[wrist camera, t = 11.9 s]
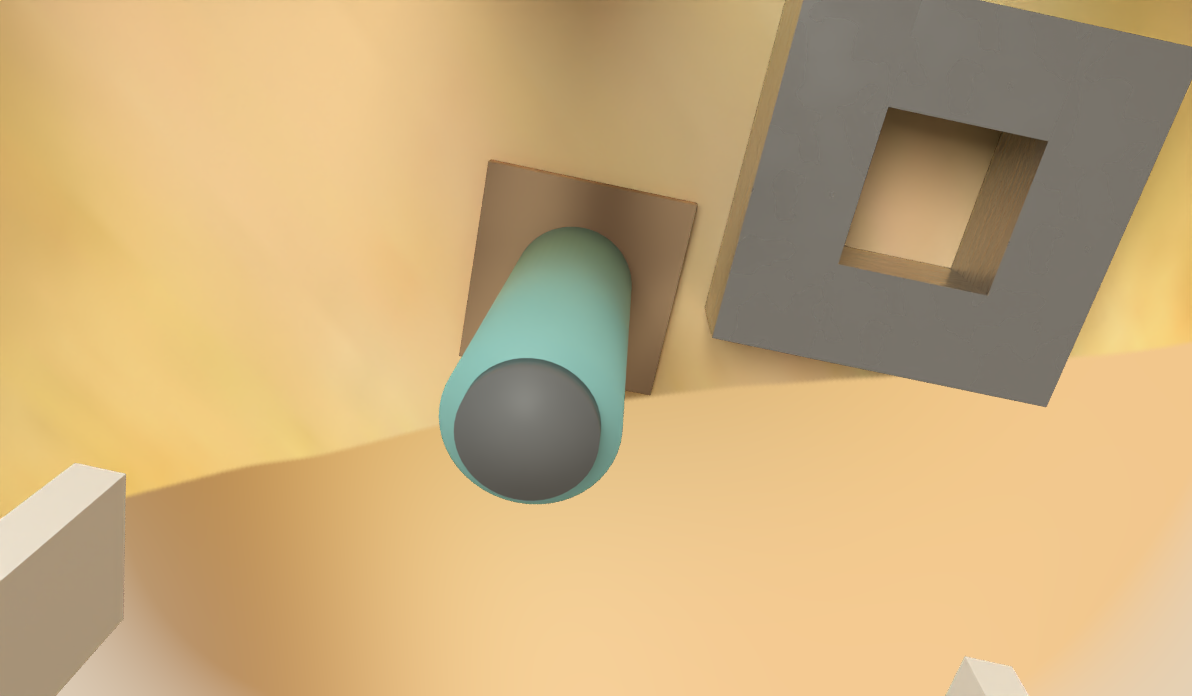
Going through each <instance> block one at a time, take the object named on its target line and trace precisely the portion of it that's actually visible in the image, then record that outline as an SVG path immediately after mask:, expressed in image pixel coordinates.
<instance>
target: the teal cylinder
mask: <svg viewBox="0 0 1192 696" xmlns="http://www.w3.org/2000/svg"><path fill="white" fill-rule="evenodd" d="M631 290H632V281H631V274H630V270H629V267H628V264H627V262H626V260H625V258H624V256H623V254H622V253H621V252H620V250H619V249H618V248H617V247H616V246H615V245H614V244H613V243H612V242H611V241H610V240H609V239H607V238H606V237H605V236H603V235H601V234H599V233H597V232H595V231H593V230H589V229H586V228H581V227H562V228H557V229H553V230H551V231H548V232H546V233H544V234H542V235H540V236H539V237H537V238H536V239H535V240H533V241H532V242H531V243H530V244H529V245H528V246H527V248H526V249H525V250H524V252H523V253H522V255H521V257H520V258H519V260H518V262H517V264H516V265H515V267H514V269H513V270H512V272H511V274H510V275H509V277H508V279H507V281H506V282H505V284H504V286H503V287H502V289H501V291H500V293H499V294H498V296H497V298H496V299H495V301H494V303H493V304H492V306H491V308H490V310H489V311H488V313H487V315H486V316H485V318H484V320H483V322H482V323H481V325H480V327H479V328H478V330H477V332H476V334H475V335H474V337H473V339H472V340H471V342H470V344H469V345H468V347H467V349H466V351H465V352H464V354H463V356H462V357H461V359H460V361H459V363H458V364H457V366H456V368H455V369H454V371H453V373H452V374H451V376H450V378H449V380H448V382H447V383H446V385H445V388H444V391H443V393H442V397H441V402H440V408H439V424H440V430H441V435H442V439H443V442H444V444H445V447H446V449H447V451H448V453H449V455H450V457H451V459H452V460H453V462H454V463H455V464H456V466H457V467H458V468H459V469H460V471H461V472H462V473H463V474H464V475H465V476H466V477H467V478H469V479H470V480H471V481H472V482H473V483H474V484H476V485H477V486H479V487H480V488H482V489H483V490H485V491H487V492H489V493H491V494H493V495H495V496H497V497H500V498H503V499H505V500H510V501H513V502H518V503H525V504H547V503H554V502H559V501H563V500H566V499H569V498H571V497H574V496H576V495H578V494H580V493H582V492H584V491H585V490H587V489H588V488H590V487H591V486H593V485H594V484H595V483H596V482H597V481H598V480H600V478H601V477H602V476H603V475H604V474H605V473H606V472H607V470H608V469H609V467H610V466H611V464H612V463H613V461H614V459H615V457H616V455H617V453H618V449H619V446H620V443H621V437H622V429H623V414H624V398H625V383H626V367H627V352H628V336H629V321H630V305H631Z"/></svg>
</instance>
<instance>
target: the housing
mask: <svg viewBox="0 0 1192 696" xmlns="http://www.w3.org/2000/svg"><path fill="white" fill-rule="evenodd" d="M1191 80H1192V47H1190V46H1186V45H1181V44H1176V43H1172V42H1167V41H1163V40H1158V39H1154V38H1149V37H1144V36H1140V35H1135V34H1131V33H1126V32H1122V31H1117V30H1113V29H1108V28H1103V27H1099V26H1094V25H1090V24H1085V23H1081V22H1076V21H1072V20H1067V19H1062V18H1058V17H1053V16H1049V15H1044V14H1040V13H1035V12H1030V11H1026V10H1021V9H1017V8H1012V7H1008V6H1003V5H999V4H994V3H989V2H985V1H980V0H785V4H784V8H783V12H782V16H781V19H780V23H779V27H778V31H777V35H776V39H775V42H774V46H773V50H772V54H771V58H770V61H769V65H768V69H767V73H766V77H765V80H764V84H763V88H762V92H761V96H760V99H759V103H758V107H757V111H756V115H755V118H754V122H753V126H752V130H751V134H750V137H749V141H748V145H747V149H746V153H745V156H744V160H743V164H742V168H741V172H740V175H739V179H738V183H737V187H736V191H735V194H734V198H733V202H732V206H731V210H730V213H729V217H728V221H727V225H726V229H725V232H724V236H723V240H722V244H721V248H720V251H719V255H718V259H717V263H716V267H715V271H714V274H713V278H712V282H711V286H710V290H709V293H708V297H707V301H706V305H705V310H706V315H707V319H708V323H709V327H710V331H711V335H712V338H715V339H720V340H725V341H730V342H735V343H739V344H744V345H749V346H754V347H759V348H764V349H768V350H773V351H778V352H783V353H788V354H792V355H797V356H802V357H807V358H812V359H817V360H821V361H826V362H831V363H836V364H841V365H845V366H850V367H855V368H860V369H865V370H870V371H874V372H879V373H884V374H889V375H894V376H898V377H903V378H908V379H913V380H918V381H923V382H927V383H932V384H937V385H942V386H947V387H951V388H957V389H961V390H966V391H971V392H976V393H980V394H985V395H990V396H995V397H1000V398H1005V399H1009V400H1014V401H1019V402H1024V403H1028V404H1034V405H1038V406H1043V407H1046V406H1047V404H1048V402H1049V400H1050V398H1051V396H1052V393H1053V391H1054V389H1055V387H1056V384H1057V382H1058V380H1059V378H1060V375H1061V373H1062V370H1063V368H1064V366H1065V364H1066V362H1067V359H1068V357H1069V355H1070V353H1071V350H1072V348H1073V346H1074V344H1075V341H1076V339H1077V337H1078V335H1079V332H1080V330H1081V328H1082V326H1083V323H1084V321H1085V319H1086V317H1087V314H1088V312H1089V310H1090V308H1091V305H1092V303H1093V301H1094V299H1095V296H1096V294H1097V292H1098V290H1099V287H1100V285H1101V283H1102V281H1103V278H1104V276H1105V274H1106V272H1107V269H1108V267H1109V265H1110V263H1111V260H1112V258H1113V256H1114V254H1115V251H1116V249H1117V247H1118V245H1119V242H1120V240H1121V238H1122V236H1123V233H1124V231H1125V229H1126V227H1127V224H1128V222H1129V220H1130V218H1131V215H1132V213H1133V211H1134V209H1135V206H1136V204H1137V202H1138V200H1139V197H1140V195H1141V193H1142V191H1143V188H1144V186H1145V184H1146V182H1147V179H1148V177H1149V175H1150V173H1151V170H1152V168H1153V166H1154V164H1155V161H1156V159H1157V157H1158V155H1159V152H1160V150H1161V148H1162V146H1163V143H1164V141H1165V139H1166V137H1167V134H1168V132H1169V130H1170V128H1171V125H1172V123H1173V121H1174V119H1175V116H1176V114H1177V112H1178V109H1179V107H1180V105H1181V103H1182V100H1183V98H1184V96H1185V94H1186V91H1187V89H1188V87H1189V85H1190V82H1191ZM888 107H892V108H896V109H901V110H905V111H910V112H915V113H919V114H924V115H929V116H933V117H938V118H943V119H947V120H952V121H957V122H961V123H966V124H970V125H975V126H980V127H984V128H989V129H994V130H998V131H1002V133H1001V136H1000V139H999V141H998V144H997V147H996V149H995V152H994V155H993V158H992V160H991V163H990V166H989V168H988V171H987V174H986V176H985V179H984V182H983V184H982V187H981V190H980V193H979V195H978V198H977V201H976V203H975V206H974V209H973V211H972V214H971V217H970V219H969V222H968V225H967V227H966V230H965V233H964V236H963V238H962V241H961V244H960V246H959V249H958V252H957V254H956V257H955V260H954V262H953V265H952V268H951V269H950V268H946V267H941V266H936V265H932V264H927V263H922V262H917V261H913V260H908V259H903V258H898V257H894V256H889V255H884V254H879V253H875V252H870V251H865V250H860V249H856V248H851V247H846V246H844V244H845V241H846V238H847V235H848V232H849V229H850V225H851V222H852V219H853V216H854V213H855V210H856V207H857V203H858V200H859V197H860V194H861V191H862V188H863V185H864V181H865V178H866V175H867V172H868V169H869V166H870V163H871V160H872V156H873V153H874V150H875V147H876V144H877V141H878V138H879V134H880V131H881V128H882V125H883V122H884V119H885V116H886V113H887V109H888Z"/></svg>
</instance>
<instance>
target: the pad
mask: <svg viewBox="0 0 1192 696" xmlns="http://www.w3.org/2000/svg"><path fill="white" fill-rule="evenodd" d="M696 209H697V203H694V202H689V201H685V200H680V199H675V198H670V197H666V196H661V195H656V194H652V193H647V192H642V191H637V190H633V189H628V188H623V187H618V186H614V185H609V184H604V183H600V182H595V181H590V180H585V179H581V178H576V177H571V176H566V175H562V174H557V173H552V172H548V171H543V170H538V169H533V168H529V167H524V166H519V165H514V164H510V163H505V162H500V161H495V160H490V161H489V162H488V168H487V175H486V182H485V188H484V195H483V201H482V208H481V215H480V221H479V228H478V235H477V241H476V248H475V254H474V261H473V268H472V274H471V281H470V287H469V294H468V301H467V307H466V314H465V321H464V327H463V334H462V340H461V347H460V354H459V356H461V357H462V356H463V354H464V352H465V351H466V349H467V347H468V345H469V344H470V342H471V340H472V339H473V337H474V335H475V334H476V332H477V330H478V328H479V327H480V325H481V323H482V322H483V320H484V318H485V316H486V315H487V313H488V311H489V310H490V308H491V306H492V304H493V303H494V301H495V299H496V298H497V296H498V294H499V293H500V291H501V289H502V287H503V286H504V284H505V282H506V281H507V279H508V277H509V275H510V274H511V272H512V270H513V269H514V267H515V265H516V264H517V262H518V260H519V258H520V257H521V255H522V253H523V252H524V250H525V249H526V248H527V246H528V245H529V244H530V243H531V242H532V241H533V240H535V239H536V238H537V237H539V236H540V235H542V234H544V233H546V232H548V231H551V230H553V229H557V228H562V227H581V228H586V229H589V230H593V231H595V232H597V233H599V234H601V235H603V236H605V237H606V238H607V239H609V240H610V241H611V242H612V243H613V244H614V245H615V246H616V247H617V248H618V249H619V250H620V252H621V253H622V254H623V256H624V258H625V260H626V262H627V264H628V267H629V270H630V274H631V281H632V290H631V305H630V321H629V336H628V352H627V367H626V383H625V390H627V391H632V392H637V393H641V394H646V395H651V391H652V387H653V382H654V378H655V374H656V370H657V366H658V362H659V358H660V354H661V350H662V346H663V342H664V338H665V334H666V330H667V326H668V322H669V318H670V314H671V310H672V306H673V302H674V298H675V294H676V290H677V286H678V282H679V277H680V273H681V269H682V265H683V261H684V257H685V253H686V249H687V245H688V241H689V237H690V233H691V229H692V225H693V221H694V217H695V213H696Z"/></svg>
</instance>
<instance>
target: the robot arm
mask: <svg viewBox="0 0 1192 696" xmlns="http://www.w3.org/2000/svg"><path fill="white" fill-rule="evenodd" d="M125 492H126V474H124V473H120V472H115V471H110V470H106V469H101V468H97V467H92V466H87V465H83V464H78V463H74V464H73V465H71V466H70V467H69V468H67V469H66V470H65V471H63V472H62V473H61V474H59V475H58V476H57V477H55V478H54V479H53V480H52V481H50V482H49V483H48V484H46V485H45V486H44V487H42V488H41V489H40V490H38V491H37V492H36V493H34V494H33V495H32V496H30V497H29V498H28V499H26V500H25V501H24V502H22V503H21V504H20V505H19V506H17V507H16V508H15V509H13V510H12V511H11V512H9V513H8V514H7V515H5V516H4V517H3V518H1V519H0V696H56V695H57V694H58V693H59V691H60V690H61V689H62V688H63V687H64V686H65V685H66V684H67V682H68V681H69V680H70V679H71V678H72V677H73V676H74V674H75V673H76V672H77V671H78V670H79V669H80V668H81V666H82V665H83V664H84V663H85V662H86V661H87V660H88V658H89V657H90V656H91V655H92V654H93V653H94V652H95V651H96V650H97V648H98V647H99V646H100V645H101V644H102V643H103V642H104V640H105V639H106V638H107V637H108V636H109V634H111V633H112V631H113V630H114V629H115V628H116V627H117V626H118V625H119V623H120V622H121V621H122V620H123V616H124V615H123V614H124V554H125V552H124V551H125V549H124V548H125ZM945 696H1029V694H1028V693H1027V691H1026V690H1025V688H1024V686H1023V685H1022V683H1021V681H1020V679H1019V678H1018V676H1017V674H1016V673H1015V671H1014V669H1013V668H1012V667H1011V666H1007V665H1003V664H998V663H993V662H988V661H984V660H979V659H975V658H970V657H964V659H963V661H962V663H961V665H960V667H959V669H958V671H957V673H956V675H955V677H954V679H953V681H952V683H951V685H950V687H949V689H948V692H947V693H946V695H945Z"/></svg>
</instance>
